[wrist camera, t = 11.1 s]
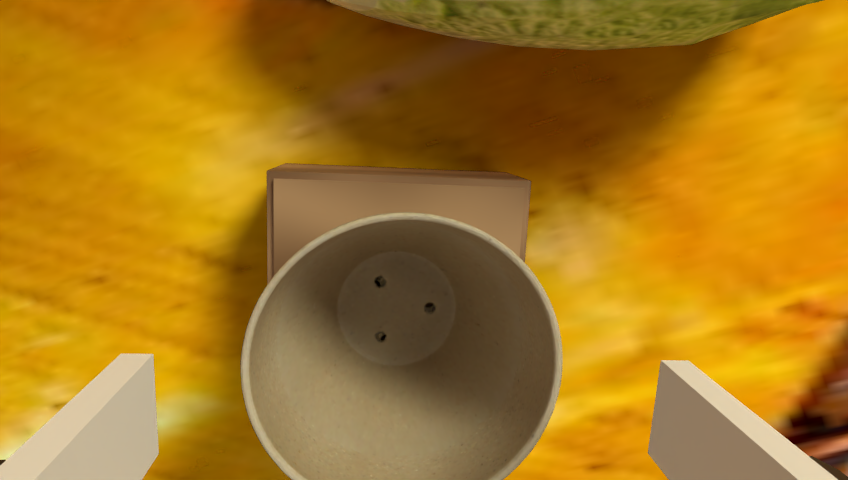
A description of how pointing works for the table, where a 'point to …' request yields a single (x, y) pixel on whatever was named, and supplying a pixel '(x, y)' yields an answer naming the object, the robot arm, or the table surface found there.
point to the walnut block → (388, 202)
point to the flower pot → (401, 355)
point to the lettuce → (575, 20)
